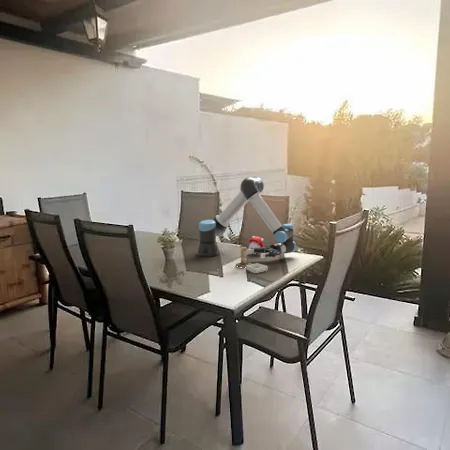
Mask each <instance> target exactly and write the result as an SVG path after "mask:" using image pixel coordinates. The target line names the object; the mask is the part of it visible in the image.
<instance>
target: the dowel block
mask: <svg viewBox="0 0 450 450" xmlns="http://www.w3.org/2000/svg"><path fill="white" fill-rule="evenodd" d="M251 264H252V263H251V262H247V265H251ZM247 265H241V262H236V263H235V267H236V266H238V267H242V268H245V267H246V266H247ZM238 267H237V268H238ZM242 268H241V269H242Z"/></svg>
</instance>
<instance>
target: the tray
mask: <svg viewBox="0 0 450 450" xmlns="http://www.w3.org/2000/svg"><path fill="white" fill-rule="evenodd" d="M254 267H259V268H254ZM268 268H269V267H268V266H267V265H265V264H261V263H257V262H256V263H251V265H247V266H246V269H247V270H251V271H254V272H258V271H261V270H265V269H267V270H268ZM246 269H245V270H246Z"/></svg>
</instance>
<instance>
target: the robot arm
mask: <svg viewBox="0 0 450 450" xmlns="http://www.w3.org/2000/svg"><path fill="white" fill-rule="evenodd" d="M264 189H265V183H264V181H263V179H261V177H258V176H252V177H251V176H250V177H246V178H243V180H242V181H241V182H240V189H239V192H238V194H237V195H236V196H235V197H234V198H233V199H232V201H230V202H229V203H228V205H227V206H226V207H225V208H224V209H223V211H222V212H220V214H217V215H215V216H214V217H213V219H205V220H201V221H200V222H199V223H198V246H197V248H196V249H197V250H196V256H198V257H216V256H218V255H219V249H218V247H217V243H216V241H217V240H216V239H217V237H218V236H222V235H223V234H224V233H225V232H226V231H227V229H228V227H229V224H230V222H231V221H232V220H233V219H234V217H235V216H236V215H238V213H239V212H240V211H241V210H242V209H243V208H244V207H245V206H246V205H247V203H248V202H250V203H251V205H252V206H253V207H254V209H255V211H256V212H257V213H258V215H259V216H260V218H261V219H262V220H263V222H264V223H265V224H266V225H267V227H268V229H269V230H270V231H271V232H272V234H273V235H274V240H275V241H276V243H274V244H270V246H269V247H266V246H263V247H259V248H251V249H249V250H248V249H247V255H252V253H257V254H258V253H259V254H260V259H266V258H271V257H272V258H275V257H276V256H281V255H285V254H291V253H293V252H295V251H296V250H297V248H298V247H297V243H296V242H295V241H294V229H295V228H294V225H293V224H290V223H284V224H282V223H281V222H280V221H279V219H278V218H277V216H276V215H275V214H274V212H273V211H272V209H271V208H270V207H269V205H268V204H267V202H266V201H265V200H264V198H263V197H262V196H261V193H262V192H263V190H264ZM217 254H218V255H217ZM215 255H216V256H215Z"/></svg>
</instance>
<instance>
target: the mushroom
mask: <svg viewBox="0 0 450 450" xmlns="http://www.w3.org/2000/svg"><path fill="white" fill-rule="evenodd" d="M264 245H265V242H264V238H262V237H260V236H258V235H257V236H256V235H255V236H254V235H252V236H251V238H250V239H249V245H248V248H247V250H249V249H251V248H259V247H264Z"/></svg>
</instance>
